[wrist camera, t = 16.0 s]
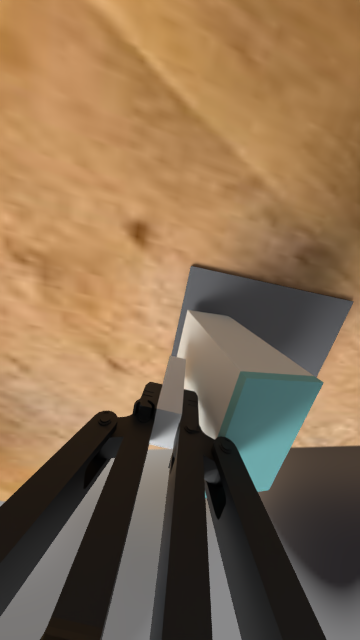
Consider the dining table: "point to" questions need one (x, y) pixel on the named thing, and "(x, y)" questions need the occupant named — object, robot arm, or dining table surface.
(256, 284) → the rubber mat
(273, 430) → the grey teal block
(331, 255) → the dining table surface
